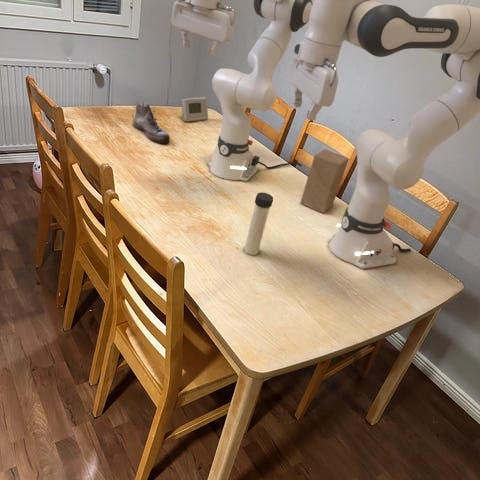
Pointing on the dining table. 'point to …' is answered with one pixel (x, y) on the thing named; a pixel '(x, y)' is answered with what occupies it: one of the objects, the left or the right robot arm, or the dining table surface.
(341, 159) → the wooden block
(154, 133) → the shoe
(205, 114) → the digital clock
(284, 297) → the dining table surface
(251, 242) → the beige cylindrical bottle
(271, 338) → the dining table surface
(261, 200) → the lid
